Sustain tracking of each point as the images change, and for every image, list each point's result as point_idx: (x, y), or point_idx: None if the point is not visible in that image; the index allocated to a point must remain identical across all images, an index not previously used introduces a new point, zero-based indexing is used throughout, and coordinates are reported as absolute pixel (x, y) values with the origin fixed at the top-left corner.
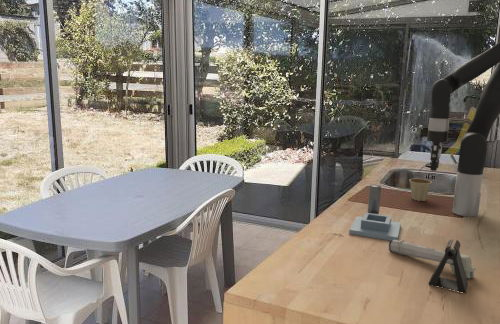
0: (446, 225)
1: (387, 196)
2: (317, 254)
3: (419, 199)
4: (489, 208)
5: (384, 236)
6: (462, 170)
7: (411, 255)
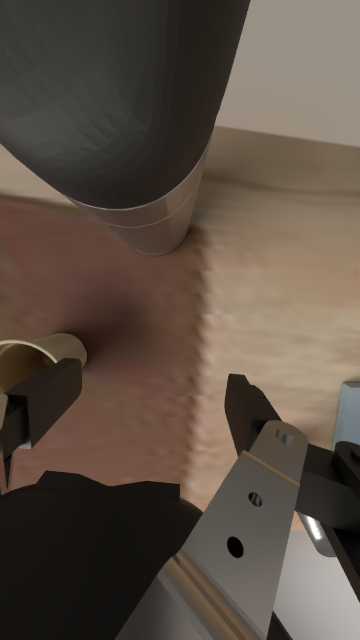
0: (295, 276)
1: (85, 435)
2: None
3: (84, 353)
4: None
5: None
6: (195, 156)
7: None
